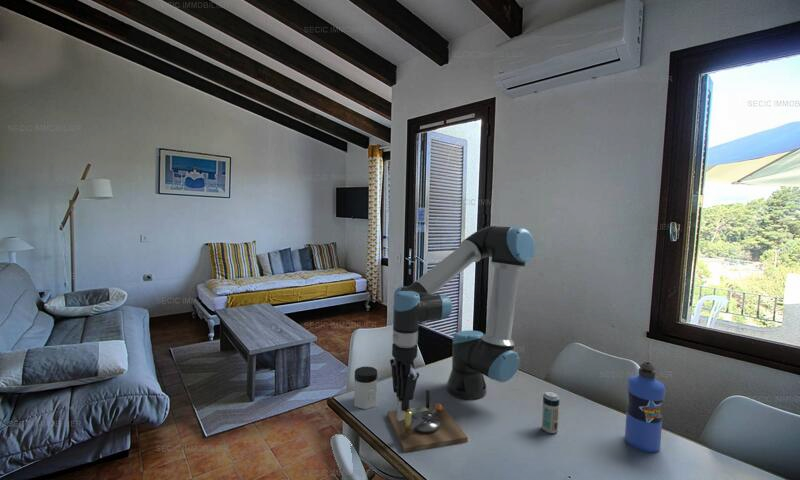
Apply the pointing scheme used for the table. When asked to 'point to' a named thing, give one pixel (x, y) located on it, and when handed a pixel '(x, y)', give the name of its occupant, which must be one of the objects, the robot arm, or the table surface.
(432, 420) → the grey metal domed piece
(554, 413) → the supplement bottle
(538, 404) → the table surface
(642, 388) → the water bottle
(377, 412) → the table surface
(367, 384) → the jar
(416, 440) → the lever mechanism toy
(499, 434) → the table surface
